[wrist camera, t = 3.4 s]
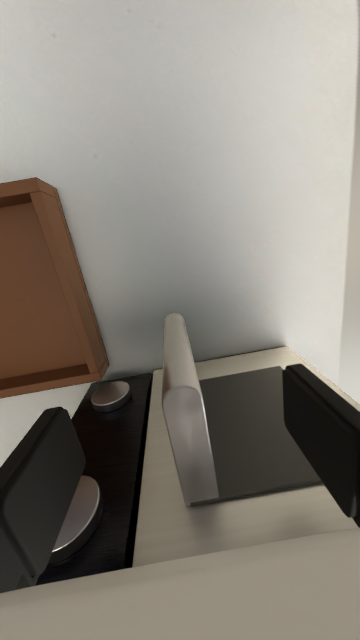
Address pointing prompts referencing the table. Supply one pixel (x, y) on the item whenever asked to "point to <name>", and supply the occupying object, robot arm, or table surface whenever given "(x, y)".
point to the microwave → (104, 482)
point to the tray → (42, 297)
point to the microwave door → (225, 457)
